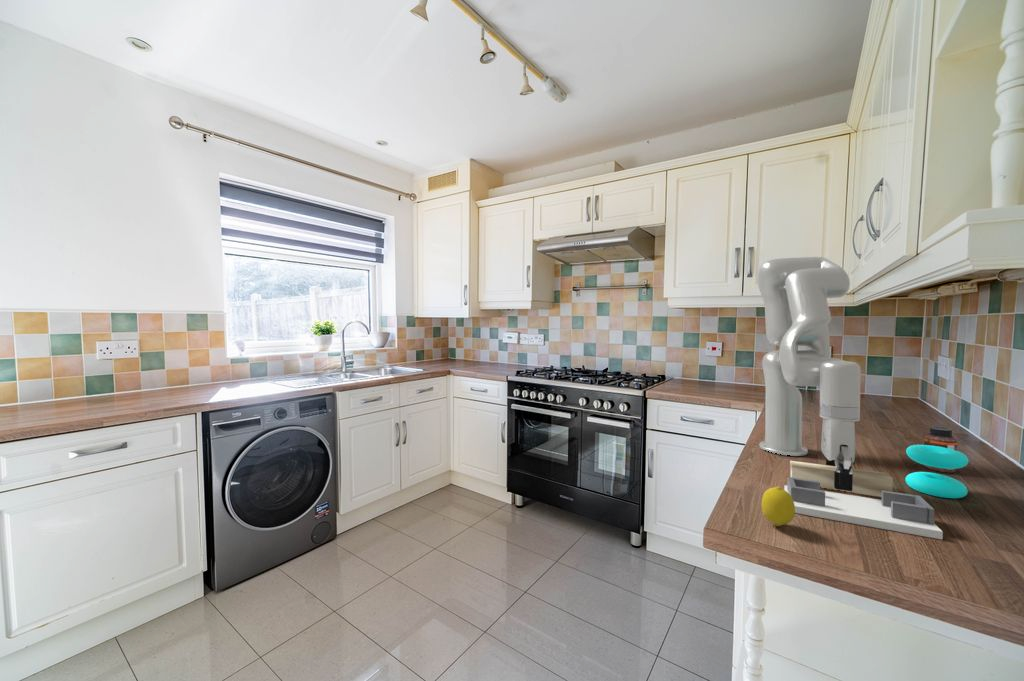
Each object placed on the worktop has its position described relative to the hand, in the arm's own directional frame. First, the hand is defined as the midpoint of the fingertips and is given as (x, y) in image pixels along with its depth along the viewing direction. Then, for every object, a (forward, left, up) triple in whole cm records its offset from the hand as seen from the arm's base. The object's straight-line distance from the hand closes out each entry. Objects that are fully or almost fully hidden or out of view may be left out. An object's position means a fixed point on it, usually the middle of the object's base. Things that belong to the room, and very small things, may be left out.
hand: (838, 482), depth 95 cm
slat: (0, 0, -2) cm, 2 cm away
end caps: (+14, 0, 0) cm, 14 cm away
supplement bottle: (-27, +26, -2) cm, 38 cm away
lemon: (+28, -15, -2) cm, 31 cm away
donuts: (-8, +19, -2) cm, 21 cm away
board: (+14, 0, -1) cm, 14 cm away
